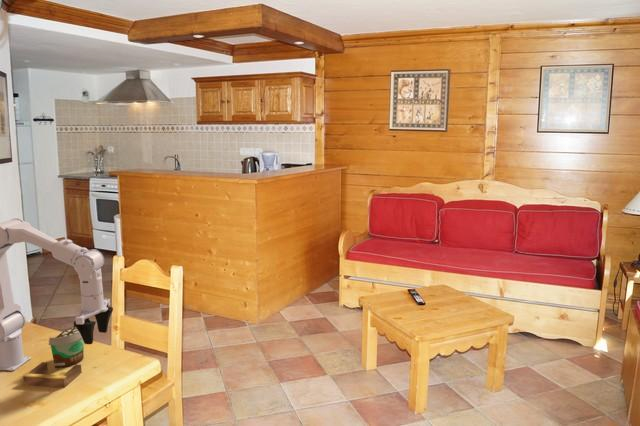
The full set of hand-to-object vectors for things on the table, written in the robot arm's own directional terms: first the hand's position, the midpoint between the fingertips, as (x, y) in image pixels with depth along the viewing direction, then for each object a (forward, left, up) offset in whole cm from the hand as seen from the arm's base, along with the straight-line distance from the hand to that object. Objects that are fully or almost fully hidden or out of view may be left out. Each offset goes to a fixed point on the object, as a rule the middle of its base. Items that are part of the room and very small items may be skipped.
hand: (95, 337), depth 146 cm
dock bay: (-10, -7, -10) cm, 16 cm away
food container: (-10, +4, -10) cm, 15 cm away
